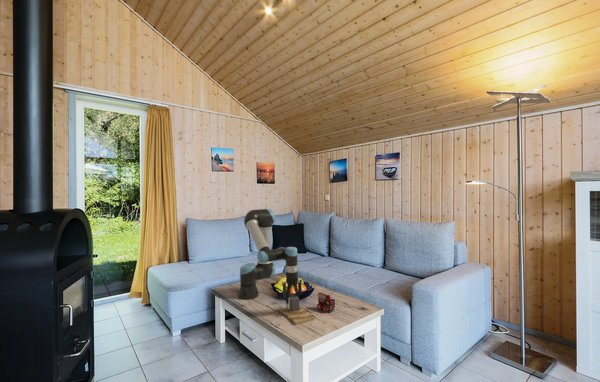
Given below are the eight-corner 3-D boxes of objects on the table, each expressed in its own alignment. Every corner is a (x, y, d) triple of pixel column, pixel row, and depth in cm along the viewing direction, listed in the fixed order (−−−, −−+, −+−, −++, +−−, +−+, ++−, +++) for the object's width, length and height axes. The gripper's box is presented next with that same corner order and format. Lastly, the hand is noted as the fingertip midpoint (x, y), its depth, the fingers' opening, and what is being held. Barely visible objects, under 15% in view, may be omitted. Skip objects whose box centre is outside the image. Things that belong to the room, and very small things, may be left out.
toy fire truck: (329, 314, 183) (328, 298, 183) (315, 308, 192) (314, 293, 192) (336, 311, 188) (335, 295, 188) (322, 305, 197) (321, 290, 197)
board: (280, 311, 189) (280, 309, 189) (298, 307, 195) (298, 304, 195) (295, 324, 170) (295, 322, 170) (314, 319, 176) (314, 317, 176)
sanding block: (286, 307, 190) (286, 295, 190) (293, 306, 193) (293, 294, 193) (292, 312, 182) (292, 300, 182) (299, 311, 185) (299, 298, 185)
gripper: (281, 275, 180) (282, 312, 180) (306, 270, 189) (307, 306, 189) (276, 272, 187) (277, 308, 187) (301, 268, 195) (302, 302, 195)
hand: (292, 307), depth 188 cm, fingers closed on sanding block, 5 cm apart
